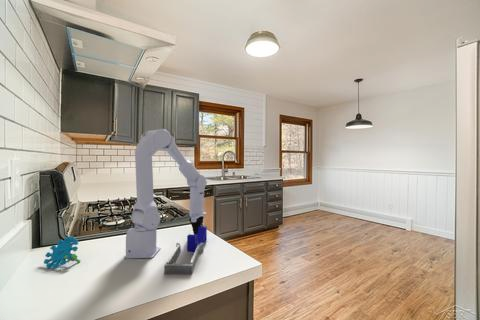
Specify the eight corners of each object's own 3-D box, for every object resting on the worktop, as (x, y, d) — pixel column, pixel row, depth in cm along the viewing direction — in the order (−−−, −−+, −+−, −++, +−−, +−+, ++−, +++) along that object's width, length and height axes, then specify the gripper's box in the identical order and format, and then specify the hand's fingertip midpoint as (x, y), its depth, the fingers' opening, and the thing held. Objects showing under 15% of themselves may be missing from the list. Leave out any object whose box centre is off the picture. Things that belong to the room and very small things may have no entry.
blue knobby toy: (35, 260, 69) (63, 231, 75) (50, 267, 73) (75, 239, 79) (56, 273, 65) (84, 241, 71) (71, 280, 69) (96, 249, 75)
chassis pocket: (160, 274, 65) (160, 264, 65) (176, 249, 82) (176, 241, 82) (195, 274, 65) (195, 264, 65) (203, 249, 83) (203, 242, 83)
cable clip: (196, 240, 93) (196, 225, 93) (206, 240, 92) (206, 226, 92) (183, 251, 81) (183, 235, 81) (195, 253, 80) (195, 236, 80)
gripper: (203, 206, 89) (203, 240, 89) (208, 199, 103) (208, 228, 103) (185, 206, 89) (185, 240, 89) (192, 199, 103) (192, 228, 103)
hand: (196, 234), depth 96 cm, fingers closed
